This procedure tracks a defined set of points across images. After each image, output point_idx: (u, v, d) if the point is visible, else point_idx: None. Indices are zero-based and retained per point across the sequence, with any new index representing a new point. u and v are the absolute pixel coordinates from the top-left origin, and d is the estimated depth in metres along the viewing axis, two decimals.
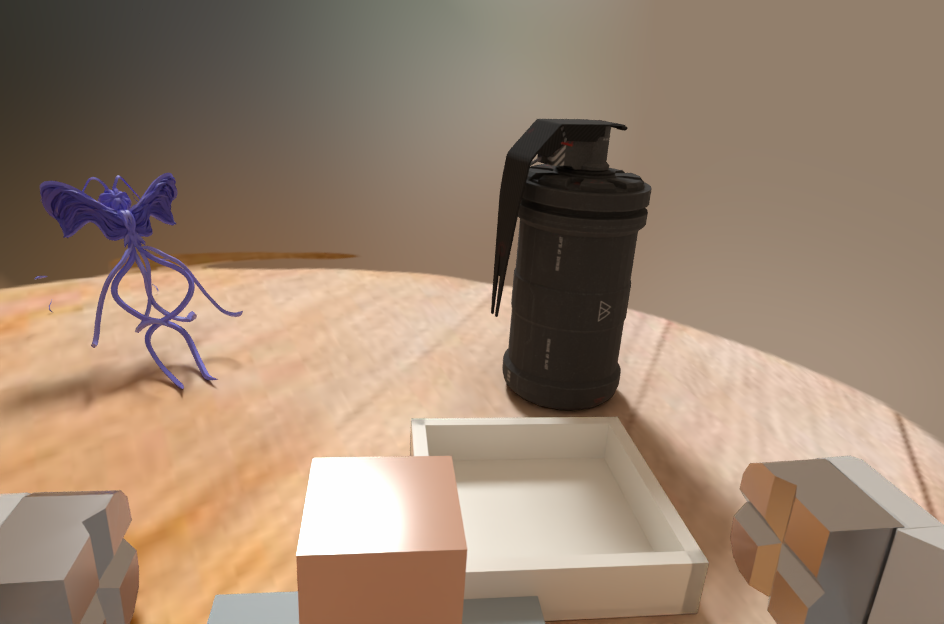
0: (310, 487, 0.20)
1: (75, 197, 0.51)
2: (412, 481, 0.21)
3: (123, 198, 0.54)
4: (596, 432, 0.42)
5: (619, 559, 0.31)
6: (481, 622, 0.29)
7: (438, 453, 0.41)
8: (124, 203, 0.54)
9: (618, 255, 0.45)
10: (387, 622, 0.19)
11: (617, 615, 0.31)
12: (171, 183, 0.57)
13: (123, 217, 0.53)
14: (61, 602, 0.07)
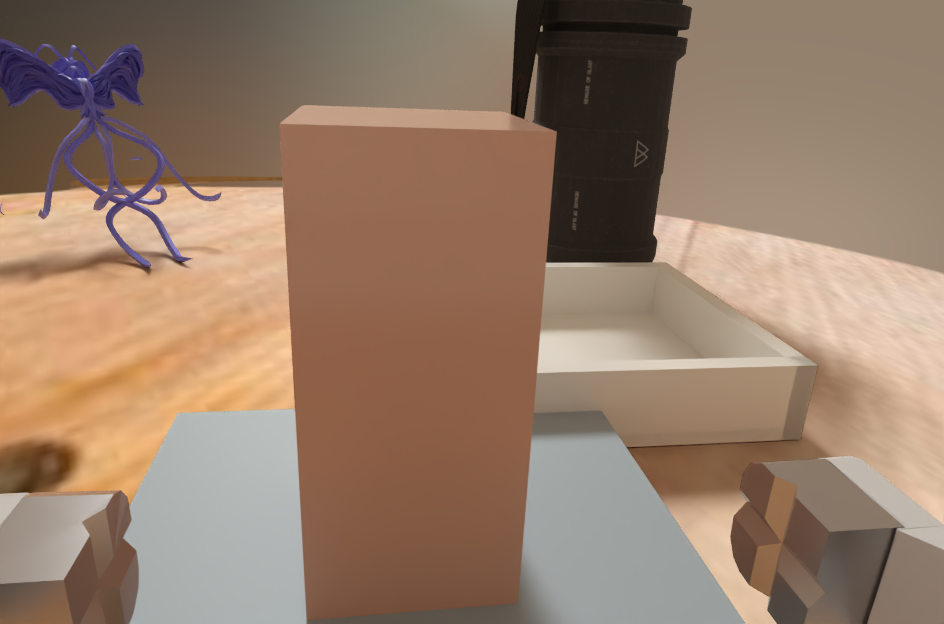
0: (300, 110, 0.13)
1: (21, 57, 0.44)
2: (453, 114, 0.14)
3: (80, 67, 0.47)
4: (642, 278, 0.35)
5: (704, 362, 0.24)
6: (533, 434, 0.22)
7: None
8: (81, 71, 0.47)
9: (656, 84, 0.39)
10: (428, 271, 0.12)
11: (701, 441, 0.24)
12: (136, 55, 0.49)
13: (79, 83, 0.45)
14: (61, 602, 0.07)
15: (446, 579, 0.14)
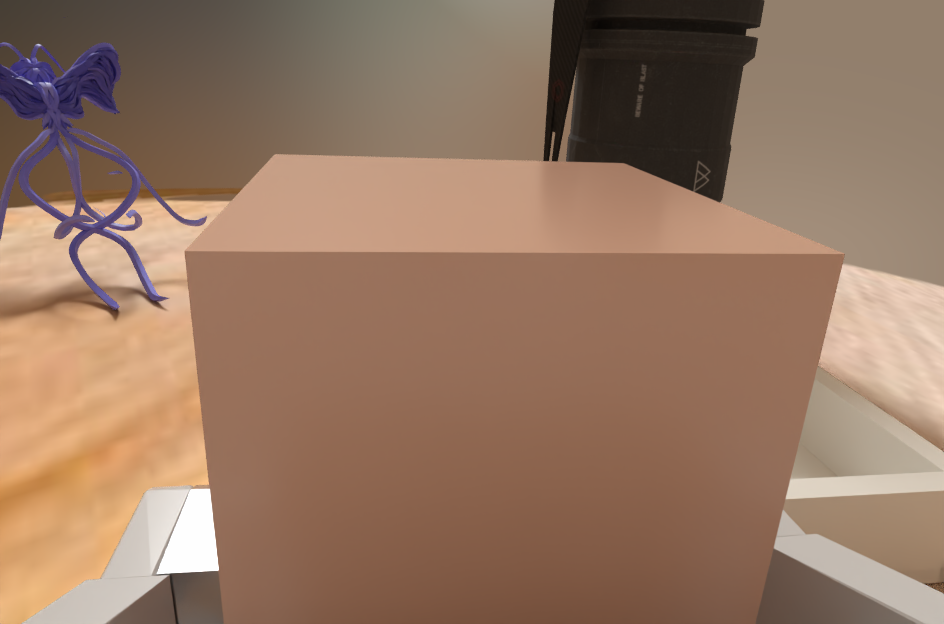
0: (263, 174, 0.07)
1: None
2: (551, 178, 0.08)
3: (44, 69, 0.40)
4: None
5: (841, 485, 0.17)
6: None
7: None
8: (44, 75, 0.40)
9: (722, 93, 0.32)
10: (533, 550, 0.05)
11: None
12: (111, 56, 0.43)
13: (41, 89, 0.39)
14: None
15: None
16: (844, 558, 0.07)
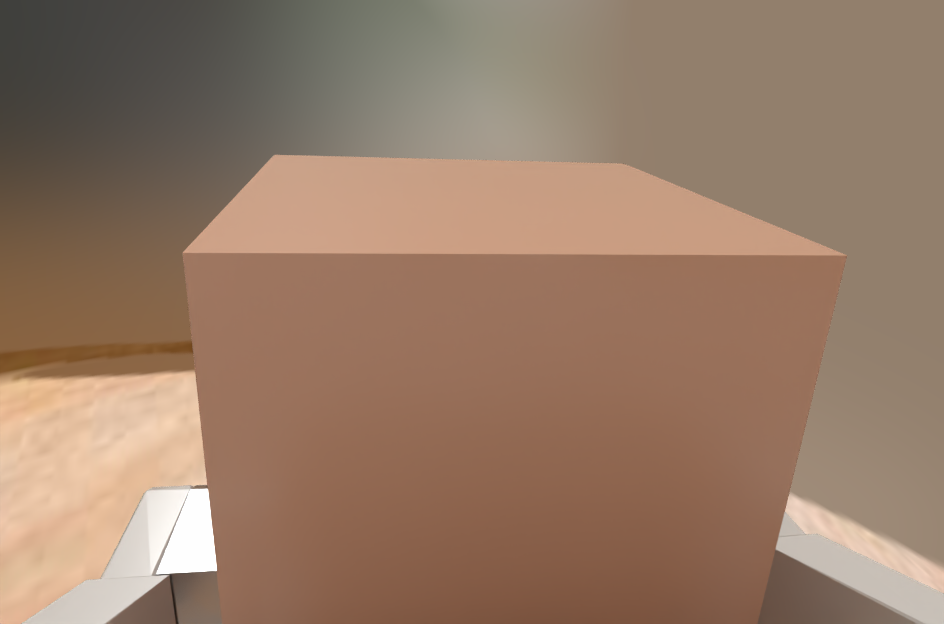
0: (263, 175, 0.07)
1: None
2: (552, 179, 0.08)
3: None
4: None
5: None
6: None
7: None
8: None
9: None
10: (534, 553, 0.05)
11: None
12: None
13: None
14: None
15: None
16: (844, 558, 0.07)
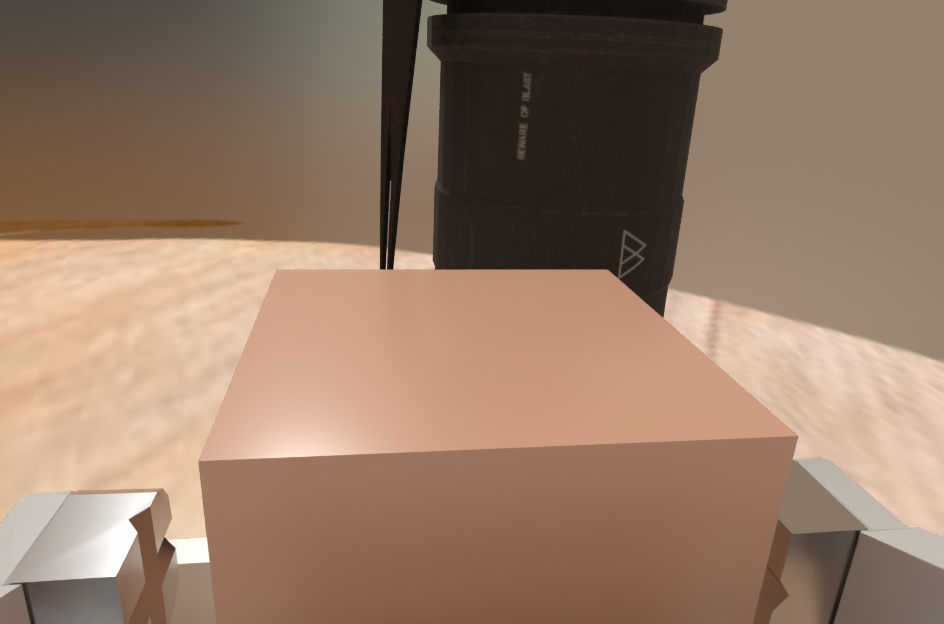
0: (266, 311, 0.07)
1: None
2: (537, 303, 0.08)
3: None
4: None
5: None
6: None
7: None
8: None
9: (662, 120, 0.19)
10: None
11: None
12: None
13: None
14: (112, 599, 0.07)
15: None
16: None
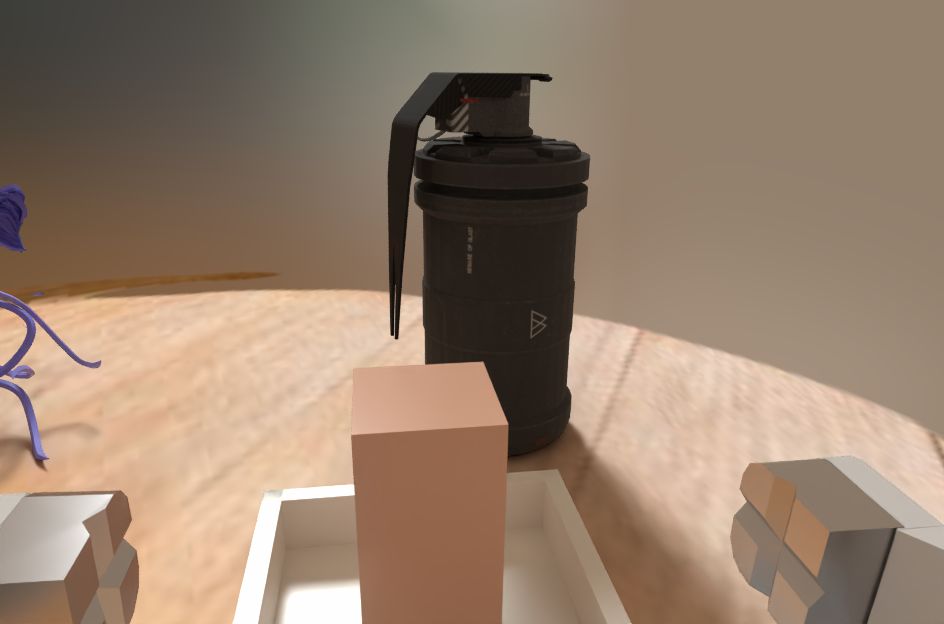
0: (355, 388, 0.22)
1: None
2: (449, 380, 0.22)
3: None
4: (528, 493, 0.30)
5: None
6: None
7: (306, 537, 0.29)
8: None
9: (550, 248, 0.34)
10: (436, 501, 0.20)
11: None
12: (15, 197, 0.44)
13: None
14: (61, 602, 0.07)
15: None
16: None
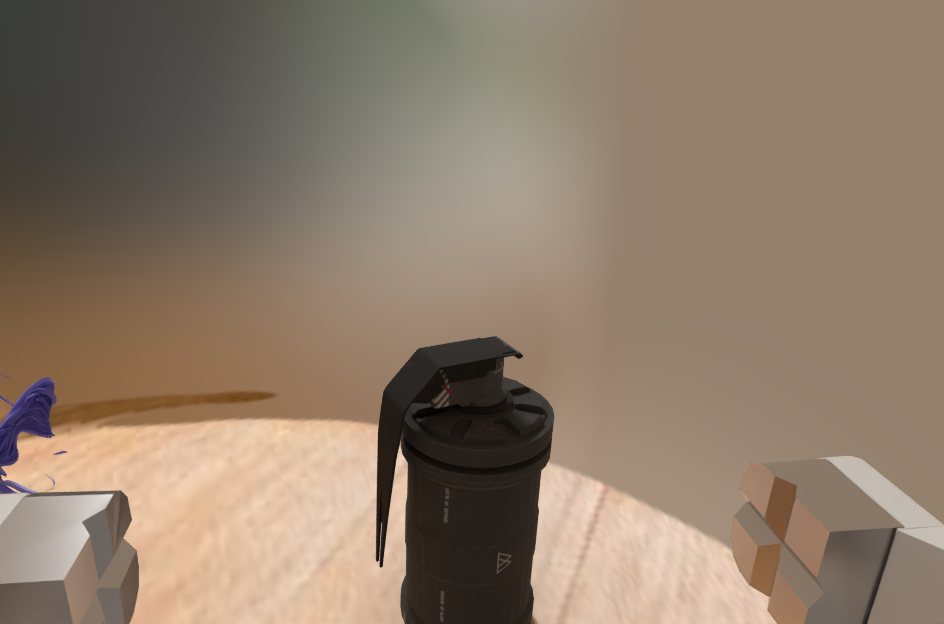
0: None
1: None
2: None
3: None
4: None
5: None
6: None
7: None
8: None
9: (515, 503, 0.39)
10: None
11: None
12: (46, 391, 0.49)
13: None
14: (61, 602, 0.07)
15: None
16: None
